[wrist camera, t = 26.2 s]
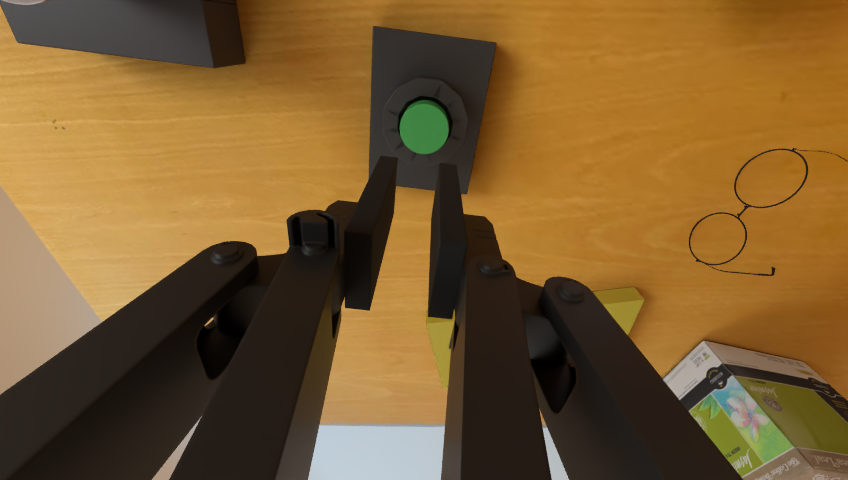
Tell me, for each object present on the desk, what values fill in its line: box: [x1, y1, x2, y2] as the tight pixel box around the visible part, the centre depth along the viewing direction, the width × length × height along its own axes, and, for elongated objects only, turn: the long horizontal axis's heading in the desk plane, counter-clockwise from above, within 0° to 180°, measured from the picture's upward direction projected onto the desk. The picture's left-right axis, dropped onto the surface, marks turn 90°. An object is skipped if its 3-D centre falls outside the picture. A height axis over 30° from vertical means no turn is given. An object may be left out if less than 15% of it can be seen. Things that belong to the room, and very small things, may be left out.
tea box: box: [663, 341, 848, 480], centre depth 39 cm, size 15×10×15 cm
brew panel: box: [369, 26, 496, 194], centre depth 27 cm, size 12×9×4 cm
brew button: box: [400, 100, 449, 154], centre depth 25 cm, size 4×4×2 cm
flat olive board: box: [426, 287, 644, 388], centre depth 42 cm, size 12×2×24 cm
